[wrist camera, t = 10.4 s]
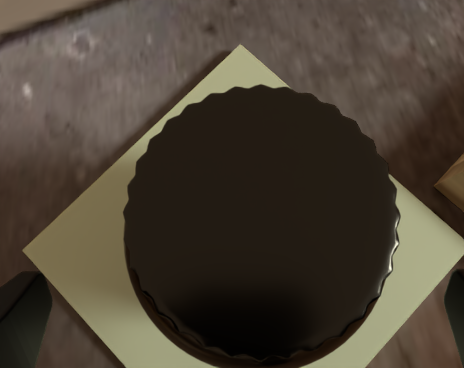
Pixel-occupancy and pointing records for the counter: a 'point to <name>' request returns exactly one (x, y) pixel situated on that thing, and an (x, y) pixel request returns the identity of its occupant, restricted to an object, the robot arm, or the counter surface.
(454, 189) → the birch collar
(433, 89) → the counter surface
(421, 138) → the counter surface
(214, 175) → the supplement bottle
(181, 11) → the counter surface
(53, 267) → the sage board
